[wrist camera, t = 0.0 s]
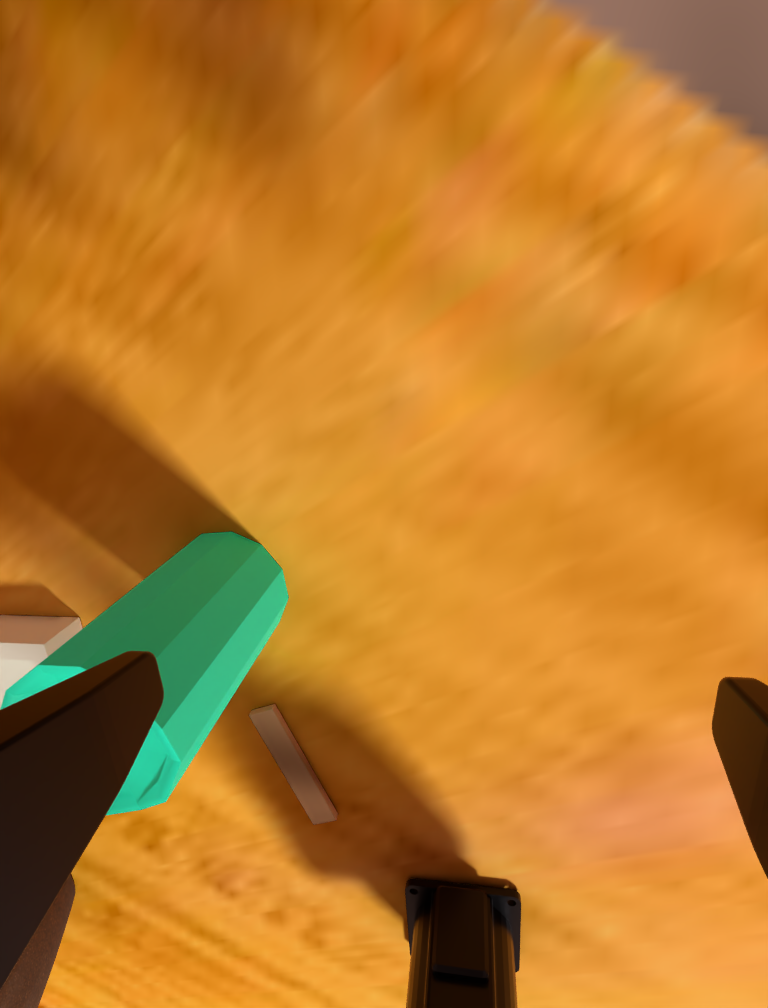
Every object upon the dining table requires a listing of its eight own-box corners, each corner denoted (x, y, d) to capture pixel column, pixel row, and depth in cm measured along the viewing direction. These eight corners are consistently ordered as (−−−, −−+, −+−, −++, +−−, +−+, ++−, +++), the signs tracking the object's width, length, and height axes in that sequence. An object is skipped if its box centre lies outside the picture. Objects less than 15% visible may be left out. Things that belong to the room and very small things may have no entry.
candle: (174, 626, 27) (-31, 839, 16) (172, 520, 25) (-66, 682, 14) (285, 648, 27) (151, 887, 16) (292, 542, 25) (142, 730, 13)
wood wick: (338, 814, 30) (336, 820, 30) (315, 818, 30) (313, 824, 30) (274, 703, 28) (272, 709, 28) (251, 710, 28) (248, 715, 28)
